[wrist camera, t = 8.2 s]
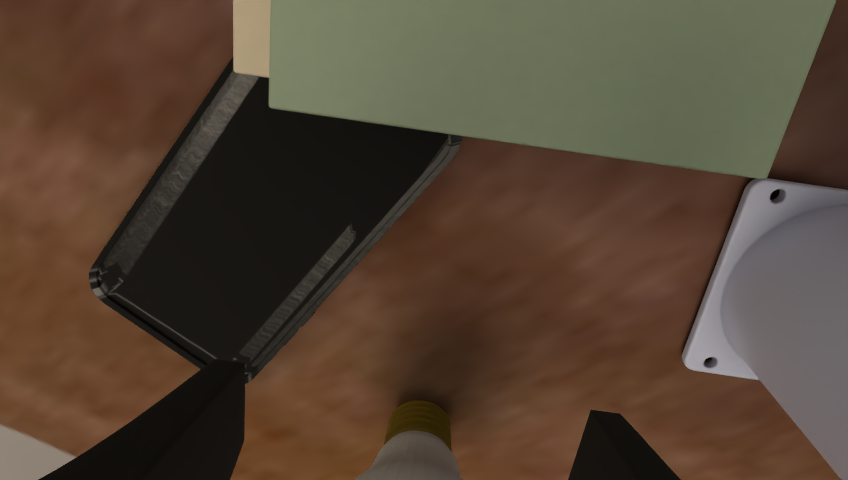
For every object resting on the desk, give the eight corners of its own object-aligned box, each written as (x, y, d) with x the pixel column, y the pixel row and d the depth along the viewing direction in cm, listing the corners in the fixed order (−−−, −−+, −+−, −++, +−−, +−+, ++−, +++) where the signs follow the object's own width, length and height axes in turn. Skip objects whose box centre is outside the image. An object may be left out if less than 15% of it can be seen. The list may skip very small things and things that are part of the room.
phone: (78, 285, 22) (291, -32, 17) (96, 273, 23) (301, -29, 18) (240, 396, 24) (478, 135, 19) (250, 380, 25) (477, 129, 20)
